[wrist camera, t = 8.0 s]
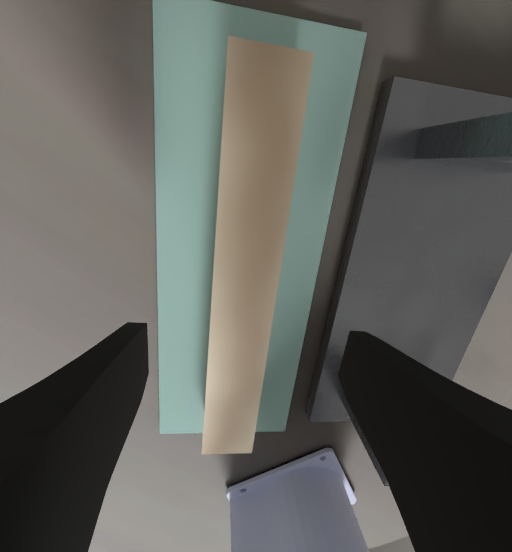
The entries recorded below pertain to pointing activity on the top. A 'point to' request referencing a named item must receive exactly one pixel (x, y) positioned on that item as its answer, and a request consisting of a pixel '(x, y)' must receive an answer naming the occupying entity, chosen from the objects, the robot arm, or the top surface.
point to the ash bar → (250, 229)
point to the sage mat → (205, 182)
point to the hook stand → (421, 234)
